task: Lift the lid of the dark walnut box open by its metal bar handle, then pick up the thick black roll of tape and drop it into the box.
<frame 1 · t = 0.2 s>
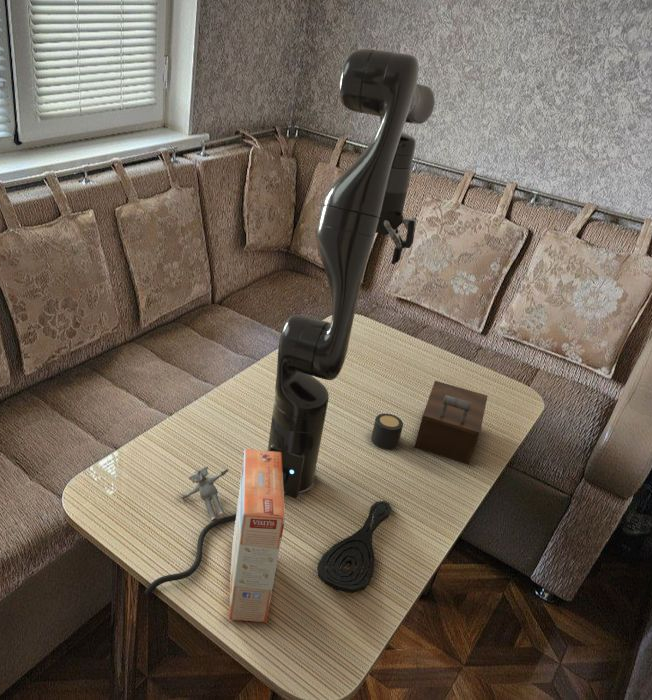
hand: (374, 258, 147), 29 cm above the table, tool pointing down, fingers open, 8 cm apart
elephant figurine: (209, 504, 118), on the table
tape: (384, 441, 138), on the table
lid: (458, 397, 135), point 10 cm above the table, hinge at 0.0°
hairbrush: (359, 548, 112), on the table
cracker box: (248, 585, 103), on the table
box: (446, 437, 141), on the table
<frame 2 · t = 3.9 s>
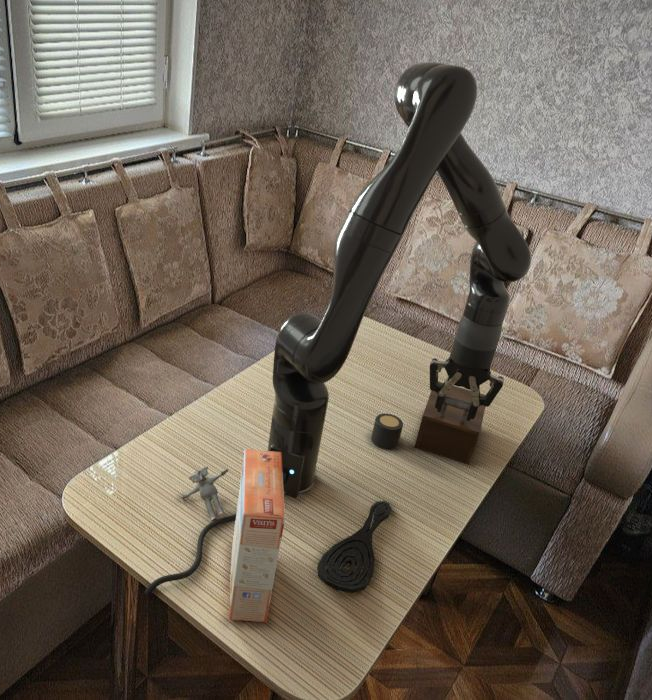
hand: (454, 414, 131), 10 cm above the table, tool pointing down, fingers closed on lid, 5 cm apart
lid: (458, 397, 135), point 10 cm above the table, hinge at 0.0°, touching gripper
everything else where it was.
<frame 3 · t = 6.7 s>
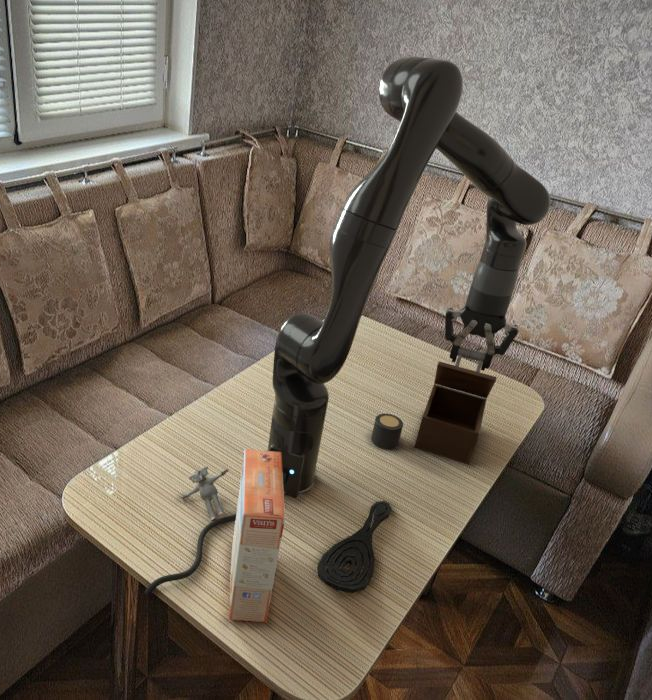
hand: (468, 364, 133), 18 cm above the table, tool pointing down, fingers closed on lid, 5 cm apart
lid: (466, 370, 136), point 15 cm above the table, hinge at 44.3°, touching gripper
everything else where it was.
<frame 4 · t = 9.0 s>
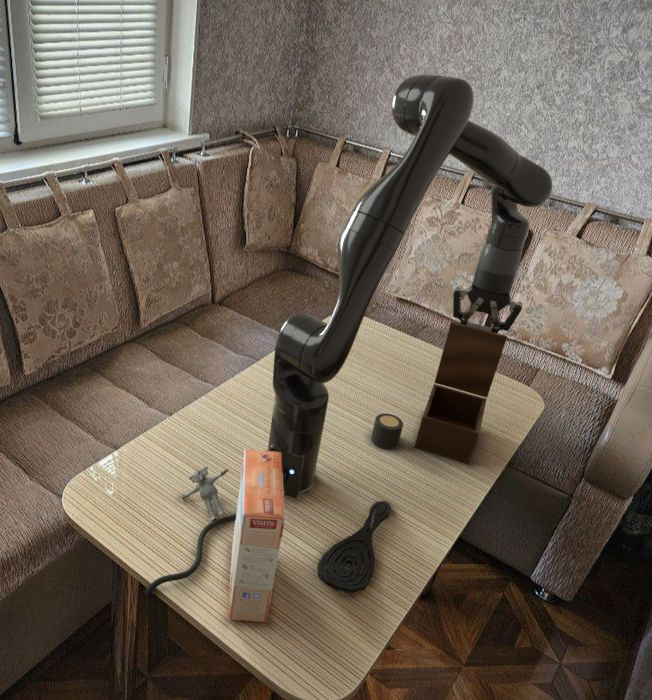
hand: (475, 340, 141), 18 cm above the table, tool pointing down, fingers closed on lid, 5 cm apart
lid: (470, 355, 141), point 16 cm above the table, hinge at 88.2°, touching gripper
everything else where it was.
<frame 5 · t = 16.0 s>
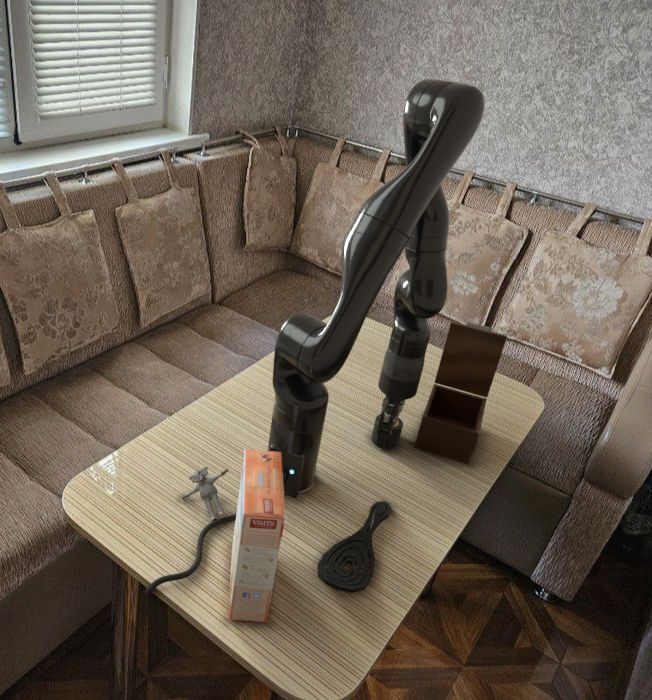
hand: (384, 438, 138), 1 cm above the table, tool pointing down, fingers closed on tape, 5 cm apart
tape: (384, 441, 138), on the table, touching gripper
lid: (470, 355, 141), point 16 cm above the table, hinge at 88.8°
everything else where it was.
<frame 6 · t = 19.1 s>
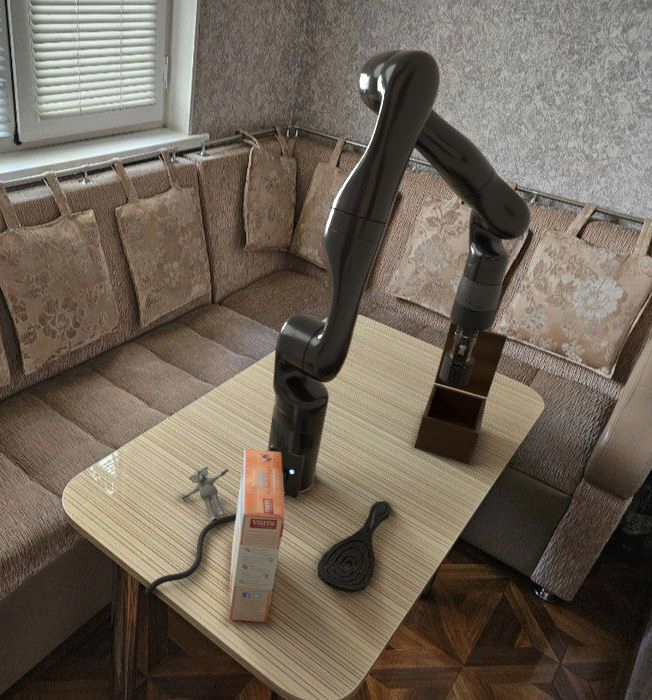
hand: (454, 376, 132), 16 cm above the table, tool pointing down, fingers closed on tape, 5 cm apart
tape: (453, 378, 132), point 15 cm above the table, touching gripper
everything else where it was.
when the fingers open (6 cm above the table, at t = 22.2 s): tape drops 5 cm, resting on box.
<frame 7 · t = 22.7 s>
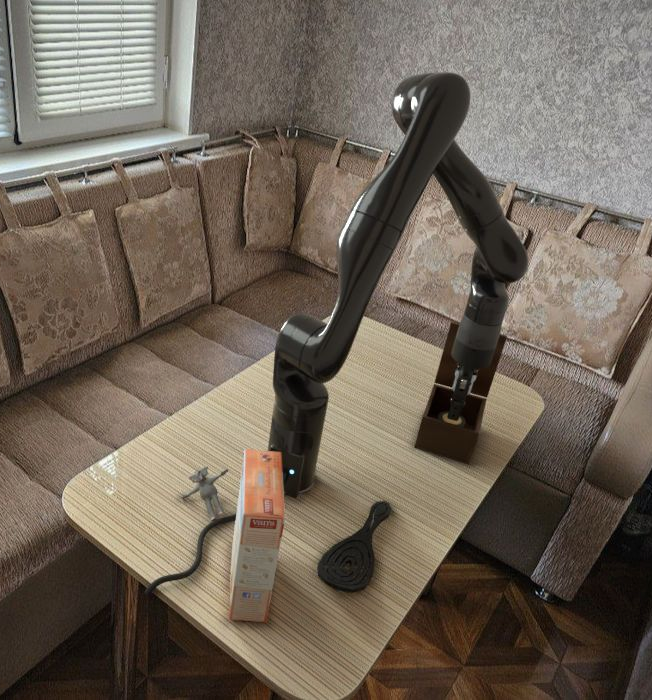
hand: (455, 408, 135), 9 cm above the table, tool pointing down, fingers open, 8 cm apart
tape: (446, 438, 139), point 1 cm above the table, touching box
everything else where it was.
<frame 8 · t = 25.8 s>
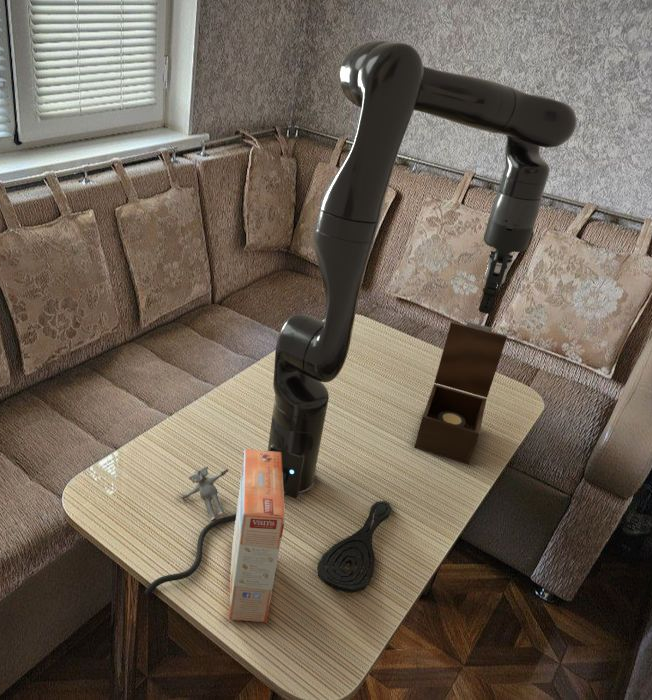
hand: (486, 303, 124), 32 cm above the table, tool pointing down, fingers open, 8 cm apart
nothing on the table moved.
at the end: lid at +89° (first picture: +0°); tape inside the target area in the box (1.5 cm from its centre), point 0.7 cm above the box's base; the gripper is holding nothing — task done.
